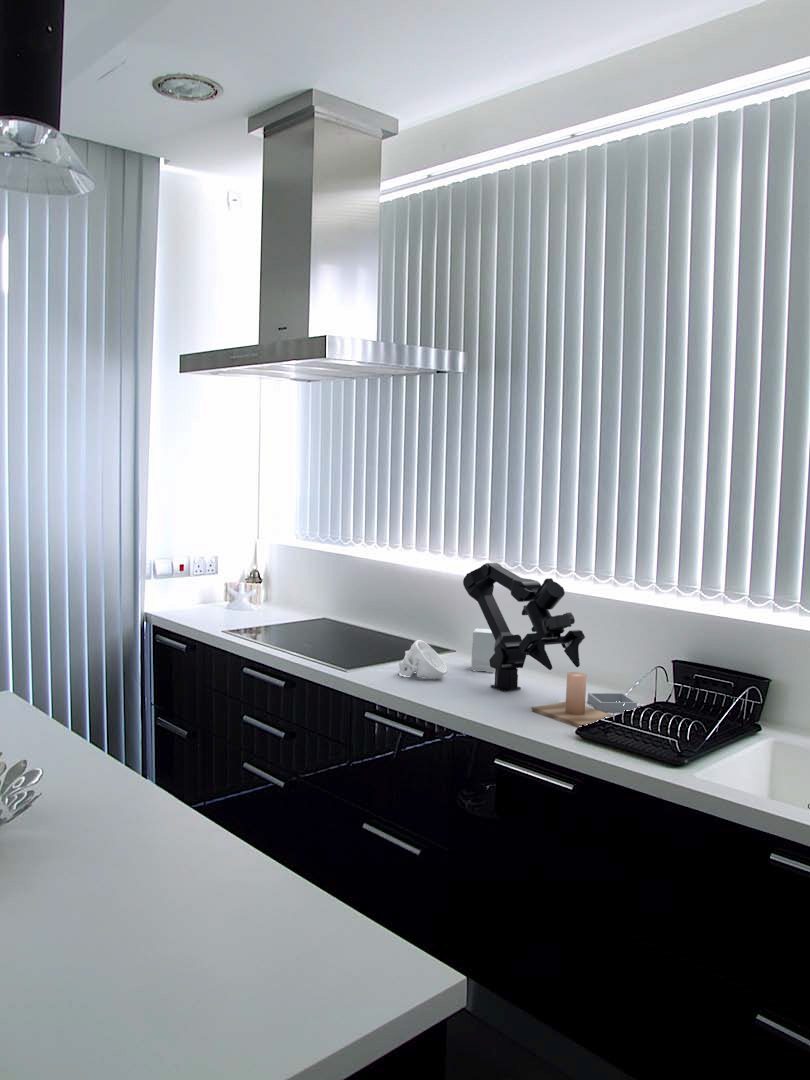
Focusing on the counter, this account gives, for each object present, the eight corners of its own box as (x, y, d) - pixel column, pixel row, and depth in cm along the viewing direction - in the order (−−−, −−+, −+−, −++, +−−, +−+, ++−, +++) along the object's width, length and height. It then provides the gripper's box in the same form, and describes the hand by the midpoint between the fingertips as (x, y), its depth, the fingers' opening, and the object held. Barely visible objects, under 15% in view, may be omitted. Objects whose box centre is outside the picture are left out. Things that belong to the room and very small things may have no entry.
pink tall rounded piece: (563, 709, 244) (564, 672, 243) (581, 709, 244) (583, 672, 243) (568, 714, 239) (570, 676, 238) (587, 714, 239) (589, 676, 238)
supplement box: (494, 673, 288) (495, 633, 287) (470, 671, 289) (472, 631, 288) (496, 668, 295) (498, 629, 294) (473, 666, 297) (475, 627, 296)
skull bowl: (400, 665, 288) (421, 635, 284) (434, 694, 283) (456, 663, 280) (386, 671, 278) (407, 640, 275) (421, 701, 274) (443, 670, 270)
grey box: (599, 711, 247) (600, 702, 246) (587, 701, 257) (587, 693, 257) (636, 711, 248) (636, 702, 248) (622, 701, 258) (622, 693, 258)
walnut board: (531, 710, 245) (531, 707, 245) (569, 704, 253) (569, 701, 253) (580, 728, 230) (581, 724, 230) (619, 721, 238) (619, 717, 238)
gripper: (527, 603, 244) (551, 653, 235) (582, 600, 253) (607, 648, 244) (508, 627, 251) (531, 676, 243) (562, 624, 260) (586, 671, 252)
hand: (564, 667), depth 245 cm, fingers open, 9 cm apart
